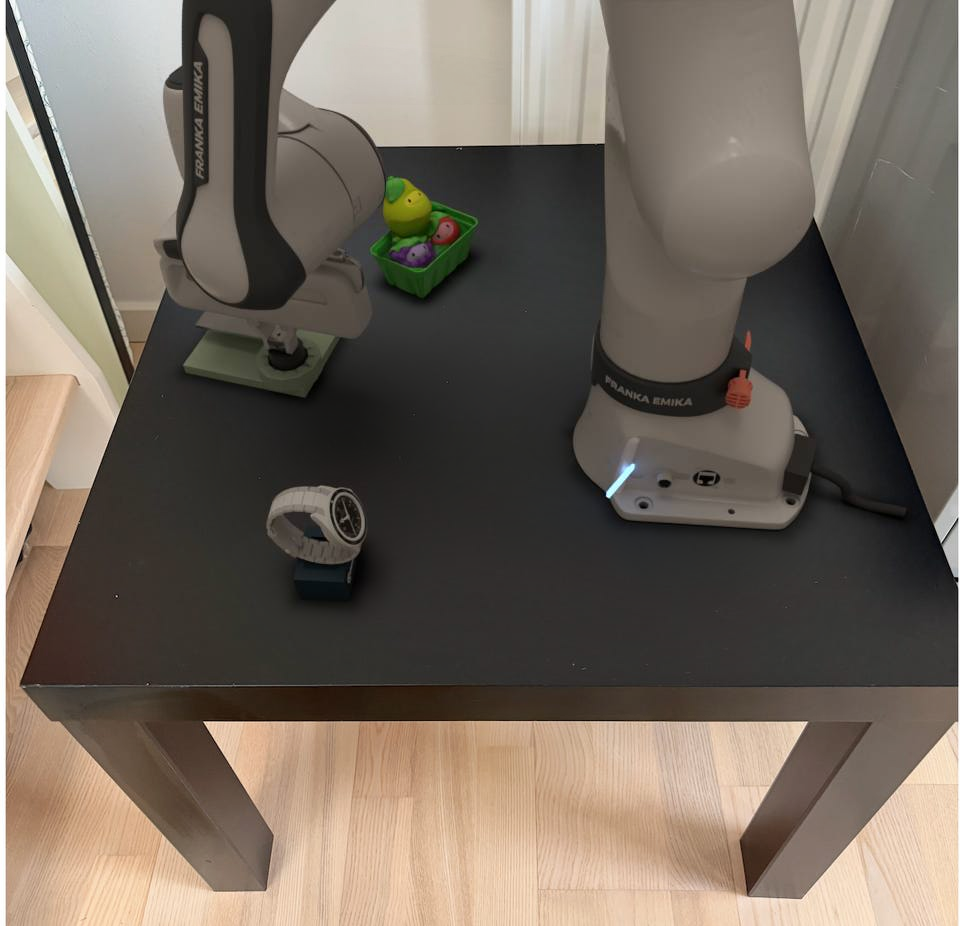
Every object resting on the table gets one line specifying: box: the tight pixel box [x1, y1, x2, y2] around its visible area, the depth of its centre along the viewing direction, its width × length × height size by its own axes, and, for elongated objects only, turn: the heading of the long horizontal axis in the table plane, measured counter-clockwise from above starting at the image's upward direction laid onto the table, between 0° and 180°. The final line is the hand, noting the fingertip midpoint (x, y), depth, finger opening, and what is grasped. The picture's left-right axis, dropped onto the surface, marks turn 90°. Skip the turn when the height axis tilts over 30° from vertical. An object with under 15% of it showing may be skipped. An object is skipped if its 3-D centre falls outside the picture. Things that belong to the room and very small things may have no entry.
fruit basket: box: [369, 175, 479, 299], centre depth 102 cm, size 11×9×11 cm
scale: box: [182, 329, 341, 398], centre depth 97 cm, size 15×13×3 cm
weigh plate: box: [194, 311, 281, 341], centre depth 98 cm, size 9×8×1 cm
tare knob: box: [268, 337, 306, 371], centre depth 93 cm, size 4×4×2 cm
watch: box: [265, 485, 368, 602], centre depth 76 cm, size 6×8×11 cm
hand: (282, 347), depth 92 cm, fingers closed
